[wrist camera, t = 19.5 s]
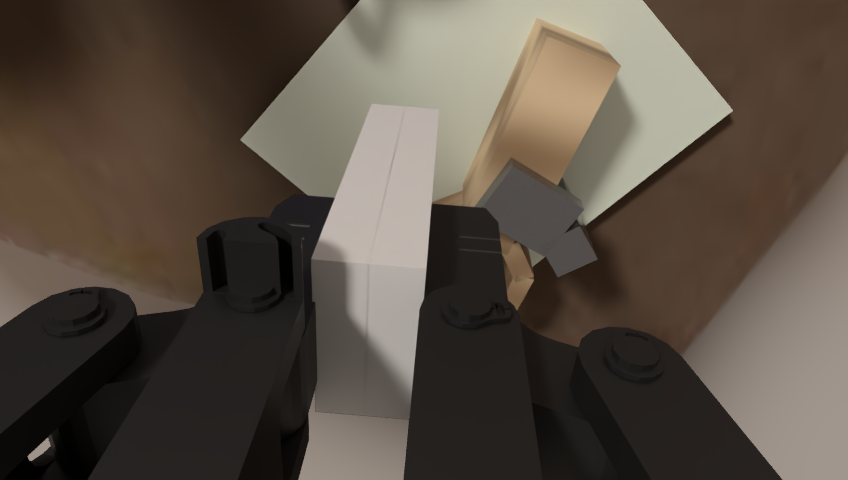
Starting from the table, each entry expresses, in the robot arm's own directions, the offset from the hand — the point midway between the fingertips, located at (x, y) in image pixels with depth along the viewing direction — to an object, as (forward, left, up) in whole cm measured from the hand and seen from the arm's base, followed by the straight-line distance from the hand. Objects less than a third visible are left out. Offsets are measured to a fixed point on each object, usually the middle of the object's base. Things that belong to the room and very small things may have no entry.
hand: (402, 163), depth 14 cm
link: (+10, -4, -23) cm, 26 cm away
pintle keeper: (+12, -6, -24) cm, 28 cm away
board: (+7, -3, -24) cm, 26 cm away
